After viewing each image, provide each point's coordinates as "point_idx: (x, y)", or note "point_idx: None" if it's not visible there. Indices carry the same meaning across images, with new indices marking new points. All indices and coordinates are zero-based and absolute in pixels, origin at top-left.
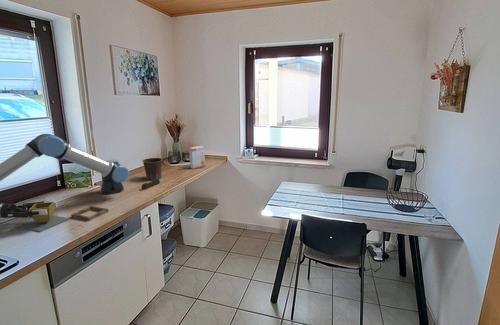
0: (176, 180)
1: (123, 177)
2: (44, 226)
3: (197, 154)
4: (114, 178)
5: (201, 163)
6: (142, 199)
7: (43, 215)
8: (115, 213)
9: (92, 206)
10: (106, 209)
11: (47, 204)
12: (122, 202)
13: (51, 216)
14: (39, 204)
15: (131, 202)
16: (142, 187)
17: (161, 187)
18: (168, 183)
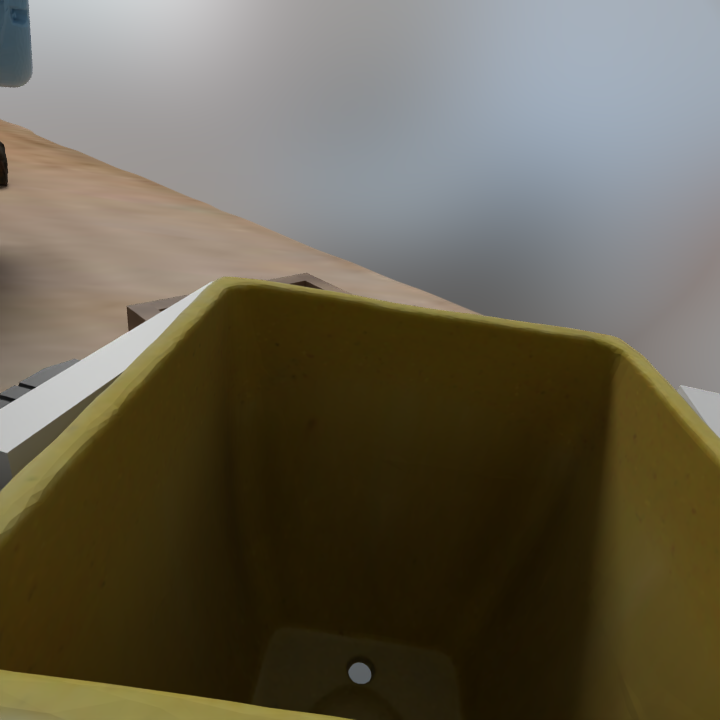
0: (8, 141)
1: (30, 38)
2: None
3: None
4: (28, 25)
5: None
6: (191, 214)
7: (586, 593)
8: (360, 286)
9: (153, 303)
10: (312, 277)
11: (186, 399)
12: (160, 245)
13: (370, 566)
14: (51, 548)
15: (203, 233)
16: (4, 163)
17: (57, 166)
18: (20, 152)
